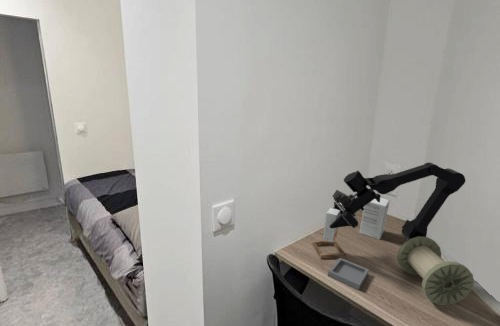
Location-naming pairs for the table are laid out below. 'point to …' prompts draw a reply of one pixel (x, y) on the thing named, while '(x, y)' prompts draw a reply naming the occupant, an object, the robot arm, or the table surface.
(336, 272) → the cradle tray
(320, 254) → the open wooden picture frame
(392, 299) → the table surface
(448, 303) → the spool
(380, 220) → the supplement box
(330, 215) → the skincare box
